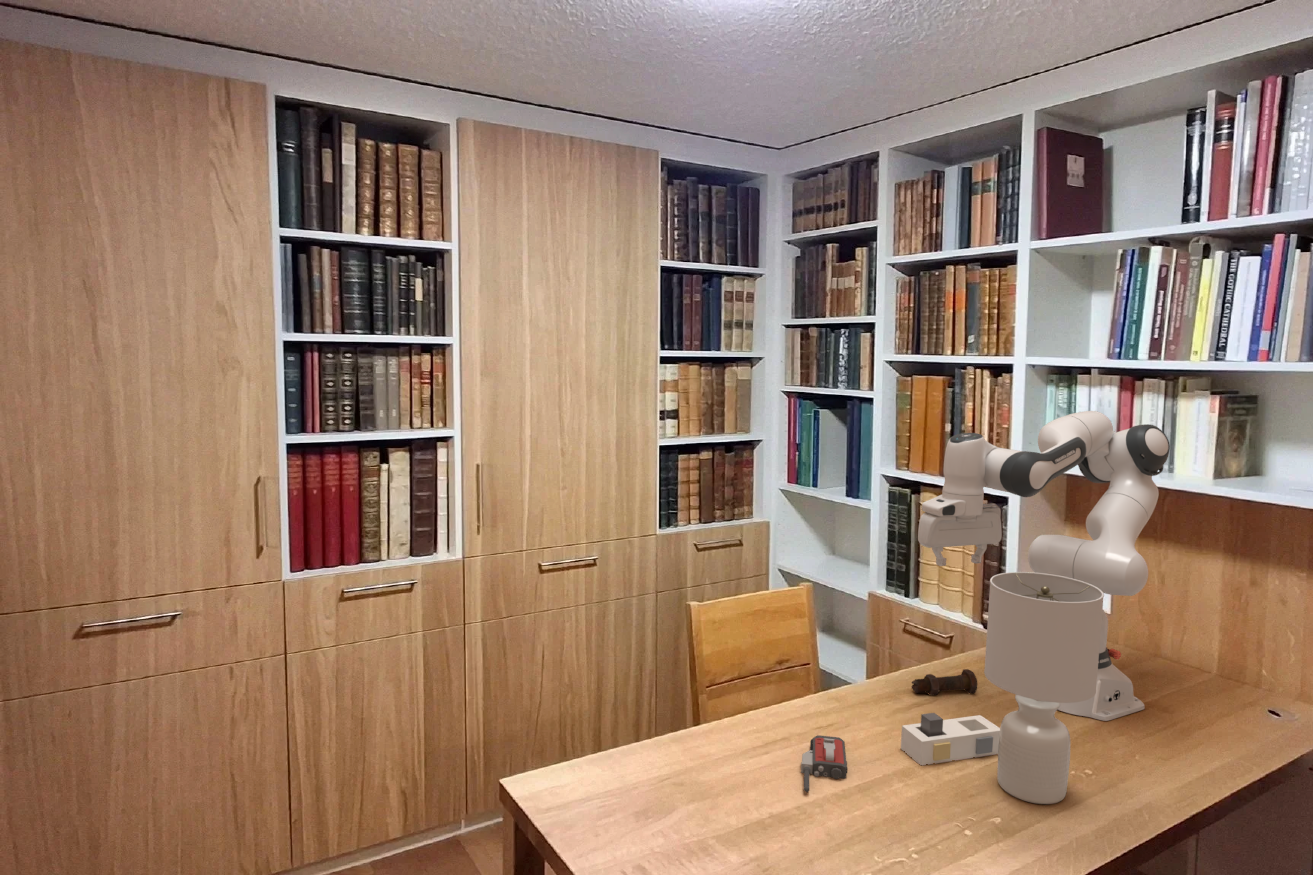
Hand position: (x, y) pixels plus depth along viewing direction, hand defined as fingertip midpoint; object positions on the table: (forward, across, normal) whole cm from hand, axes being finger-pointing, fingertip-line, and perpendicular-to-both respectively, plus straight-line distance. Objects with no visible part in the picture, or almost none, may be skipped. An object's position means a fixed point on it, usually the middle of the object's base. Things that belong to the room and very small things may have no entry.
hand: (958, 564), depth 186 cm
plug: (+33, +19, +20) cm, 43 cm away
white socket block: (+33, +14, +20) cm, 41 cm away
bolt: (+34, -2, -6) cm, 34 cm away
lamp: (+33, +9, +36) cm, 50 cm away
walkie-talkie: (+34, +44, +20) cm, 59 cm away
